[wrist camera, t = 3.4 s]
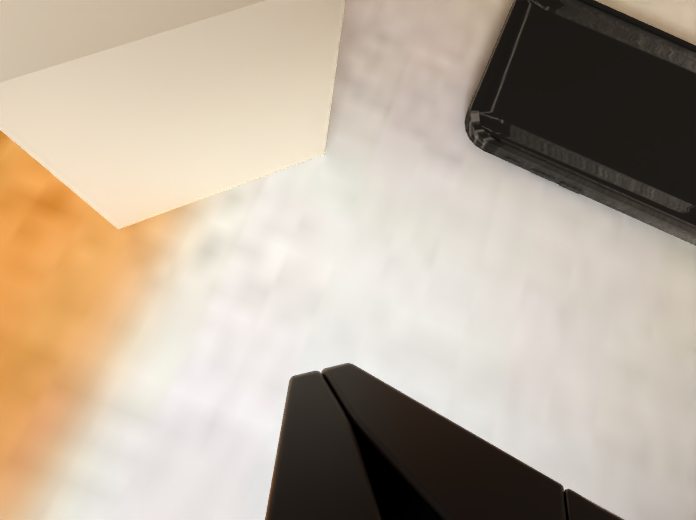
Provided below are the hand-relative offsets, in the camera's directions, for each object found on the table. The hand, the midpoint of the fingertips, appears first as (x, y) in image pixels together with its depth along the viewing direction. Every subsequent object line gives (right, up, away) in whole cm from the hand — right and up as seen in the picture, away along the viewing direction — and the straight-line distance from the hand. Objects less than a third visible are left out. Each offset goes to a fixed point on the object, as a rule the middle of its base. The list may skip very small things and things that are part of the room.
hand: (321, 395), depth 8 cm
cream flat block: (-5, +5, +14) cm, 15 cm away
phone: (+13, +7, +16) cm, 22 cm away
